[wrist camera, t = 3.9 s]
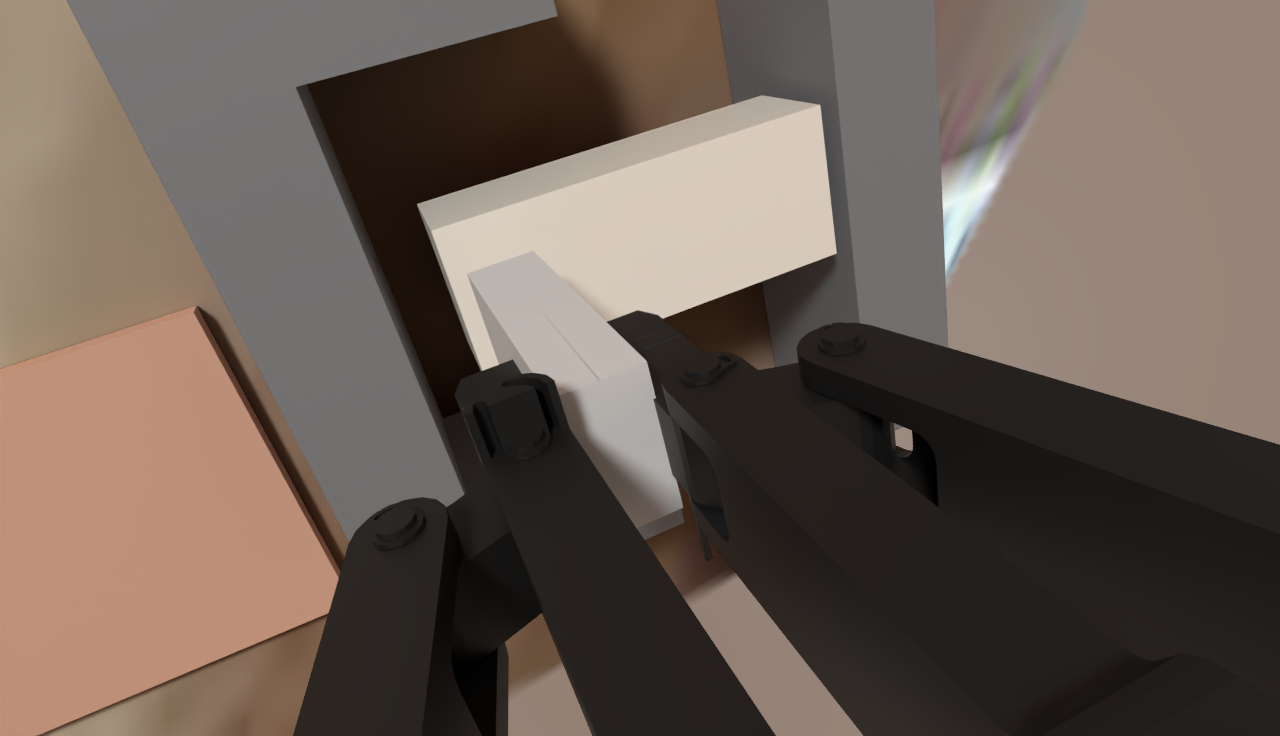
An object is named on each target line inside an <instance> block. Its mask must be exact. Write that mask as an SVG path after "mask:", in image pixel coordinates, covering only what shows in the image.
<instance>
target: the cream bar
mask: <svg viewBox="0 0 1280 736" xmlns="http://www.w3.org/2000/svg"><path fill="white" fill-rule="evenodd" d="M417 206H418V209H419V212H420V214H421V217H422V220H423V222H424V225H425V228H426V231H427V233H428V236H429V239H430V241H431V244H432V247H433V250H434V252H435V255H436V258H437V260H438V263H439V266H440V268H441V271H442V274H443V277H444V279H445V282H446V285H447V287H448V290H449V293H450V295H451V298H452V301H453V304H454V306H455V309H456V312H457V314H458V317H459V320H460V323H461V325H462V328H463V331H464V333H465V336H466V339H467V341H468V344H469V346H470V348H471V350H472V352H473V354H474V357H475V359H476V361H477V363H478V365H479V367H480V370H481V371H483V370H486V369H489V368H491V367H494V366H497V365H499V363H498V360H497V358H496V355H495V352H494V349H493V346H492V343H491V341H490V338H489V335H488V332H487V329H486V326H485V324H484V321H483V318H482V315H481V312H480V310H479V307H478V304H477V301H476V298H475V295H474V293H473V290H472V287H471V284H470V281H469V278H468V276H467V273H470V272H473V271H475V270H478V269H481V268H484V267H487V266H490V265H493V264H496V263H499V262H502V261H504V260H507V259H510V258H513V257H516V256H519V255H522V254H525V253H528V252H531V251H534V252H535V253H536V254H537V255H538V256H539V257H540V258H541V259H542V260H543V261H544V262H545V263H546V264H547V265H548V266H549V267H550V268H552V269H553V270H554V271H555V272H556V273H557V274H558V275H559V276H560V277H561V278H562V279H563V280H564V281H565V282H566V283H567V284H568V285H569V286H570V287H571V288H572V289H573V290H574V291H575V292H576V293H577V294H578V295H579V296H580V297H581V298H582V299H583V300H584V301H585V302H586V303H588V304H589V305H590V306H591V307H592V308H593V309H594V310H595V311H596V312H597V313H598V314H599V315H600V316H601V317H602V318H603V319H604V320H605V321H606V322H608V321H610V320H613V319H615V318H618V317H621V316H623V315H626V314H629V313H631V312H634V311H637V310H639V311H643V312H647V313H652V314H656V315H659V316H660V317H661V318H662V319H663V318H665V317H668V316H671V315H673V314H676V313H679V312H681V311H684V310H687V309H690V308H692V307H695V306H698V305H700V304H703V303H706V302H708V301H711V300H714V299H716V298H719V297H722V296H724V295H727V294H730V293H732V292H735V291H738V290H740V289H743V288H746V287H748V286H751V285H754V284H756V283H759V282H762V281H764V280H767V279H770V278H772V277H775V276H778V275H780V274H783V273H786V272H788V271H791V270H794V269H796V268H799V267H802V266H805V265H807V264H810V263H813V262H815V261H818V260H821V259H823V258H826V257H829V256H831V255H834V254H837V252H836V243H835V234H834V225H833V216H832V207H831V197H830V188H829V179H828V170H827V161H826V152H825V143H824V134H823V125H822V116H821V107H820V105H819V104H812V103H806V102H800V101H794V100H788V99H782V98H775V97H769V96H763V95H761V96H758V97H755V98H752V99H749V100H745V101H742V102H739V103H736V104H733V105H730V106H726V107H723V108H720V109H717V110H714V111H711V112H707V113H704V114H701V115H698V116H695V117H691V118H688V119H685V120H682V121H679V122H676V123H672V124H669V125H666V126H663V127H660V128H657V129H653V130H650V131H647V132H644V133H641V134H637V135H634V136H631V137H628V138H625V139H622V140H618V141H615V142H612V143H609V144H606V145H603V146H599V147H596V148H593V149H590V150H587V151H584V152H580V153H577V154H574V155H571V156H568V157H564V158H561V159H558V160H555V161H552V162H549V163H545V164H542V165H539V166H536V167H533V168H530V169H526V170H523V171H520V172H517V173H514V174H510V175H507V176H504V177H501V178H498V179H495V180H491V181H488V182H485V183H482V184H479V185H476V186H472V187H469V188H466V189H463V190H460V191H456V192H453V193H450V194H447V195H444V196H441V197H437V198H434V199H431V200H428V201H425V202H422V203H418V204H417Z"/></svg>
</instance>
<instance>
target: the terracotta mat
mask: <svg viewBox="0 0 1280 736" xmlns="http://www.w3.org/2000/svg"><path fill="white" fill-rule="evenodd" d="M340 572H341V571H340V569H339V568H338V566H337V564H336V562H335V560H334V558H333V557H332V555H331V553H330V551H329V549H328V547H327V545H326V544H325V542H324V540H323V538H322V536H321V534H320V533H319V531H318V529H317V527H316V525H315V523H314V521H313V520H312V518H311V516H310V514H309V512H308V510H307V509H306V507H305V505H304V503H303V501H302V499H301V497H300V496H299V494H298V492H297V490H296V488H295V486H294V485H293V483H292V481H291V479H290V477H289V475H288V473H287V472H286V470H285V468H284V466H283V464H282V462H281V461H280V459H279V457H278V455H277V453H276V451H275V449H274V448H273V446H272V444H271V442H270V440H269V438H268V437H267V435H266V433H265V431H264V429H263V427H262V425H261V424H260V422H259V420H258V418H257V416H256V414H255V413H254V411H253V409H252V407H251V405H250V403H249V401H248V400H247V398H246V396H245V394H244V392H243V390H242V389H241V387H240V385H239V383H238V381H237V379H236V377H235V376H234V374H233V372H232V370H231V368H230V366H229V365H228V363H227V361H226V359H225V357H224V355H223V353H222V352H221V350H220V348H219V346H218V344H217V342H216V340H215V339H214V337H213V335H212V333H211V331H210V329H209V328H208V326H207V324H206V322H205V320H204V318H203V316H202V315H201V313H200V311H199V309H198V307H197V306H194V307H191V308H188V309H185V310H182V311H179V312H175V313H172V314H169V315H166V316H163V317H160V318H157V319H154V320H151V321H148V322H144V323H141V324H138V325H135V326H132V327H129V328H126V329H123V330H120V331H117V332H113V333H110V334H107V335H104V336H101V337H98V338H95V339H92V340H89V341H86V342H83V343H79V344H76V345H73V346H70V347H67V348H64V349H61V350H58V351H55V352H52V353H48V354H45V355H42V356H39V357H36V358H33V359H30V360H27V361H24V362H21V363H18V364H14V365H11V366H8V367H5V368H2V369H0V736H37V735H40V734H42V733H45V732H47V731H49V730H52V729H54V728H56V727H59V726H61V725H64V724H66V723H68V722H71V721H73V720H75V719H78V718H80V717H83V716H85V715H87V714H90V713H92V712H94V711H97V710H99V709H102V708H104V707H106V706H109V705H111V704H113V703H116V702H118V701H121V700H123V699H125V698H128V697H130V696H132V695H135V694H137V693H140V692H142V691H144V690H147V689H149V688H151V687H154V686H156V685H159V684H161V683H163V682H166V681H168V680H170V679H173V678H175V677H178V676H180V675H182V674H185V673H187V672H189V671H192V670H194V669H197V668H199V667H201V666H204V665H206V664H209V663H211V662H213V661H216V660H218V659H220V658H223V657H225V656H228V655H230V654H232V653H235V652H237V651H239V650H242V649H244V648H247V647H249V646H251V645H254V644H256V643H258V642H261V641H263V640H266V639H268V638H270V637H273V636H275V635H277V634H280V633H282V632H285V631H287V630H289V629H292V628H294V627H296V626H299V625H301V624H304V623H306V622H308V621H311V620H313V619H315V618H318V617H320V616H323V615H325V614H327V613H329V610H330V607H331V603H332V600H333V596H334V593H335V589H336V586H337V582H338V579H339V575H340Z"/></svg>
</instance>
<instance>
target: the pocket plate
mask: <svg viewBox="0 0 1280 736" xmlns="http://www.w3.org/2000/svg"><path fill="white" fill-rule="evenodd" d="M67 2H68V4H69V6H70V8H71V10H72V12H73V14H74V16H75V18H76V20H77V21H78V23H79V25H80V27H81V29H82V31H83V33H84V35H85V37H86V39H87V41H88V43H89V44H90V46H91V48H92V50H93V52H94V54H95V56H96V58H97V60H98V62H99V64H100V66H101V67H102V69H103V71H104V73H105V75H106V77H107V79H108V81H109V83H110V85H111V87H112V89H113V90H114V92H115V94H116V96H117V98H118V100H119V102H120V104H121V106H122V108H123V110H124V112H125V113H126V115H127V117H128V119H129V121H130V123H131V125H132V127H133V129H134V131H135V133H136V135H137V136H138V138H139V140H140V142H141V144H142V146H143V148H144V150H145V152H146V154H147V156H148V158H149V159H150V161H151V163H152V165H153V167H154V169H155V171H156V173H157V175H158V177H159V179H160V180H161V182H162V184H163V186H164V188H165V190H166V192H167V194H168V196H169V198H170V200H171V202H172V203H173V205H174V207H175V209H176V211H177V213H178V215H179V217H180V219H181V221H182V223H183V225H184V226H185V228H186V230H187V232H188V234H189V236H190V238H191V240H192V242H193V244H194V246H195V248H196V249H197V251H198V253H199V255H200V257H201V259H202V261H203V263H204V265H205V267H206V269H207V271H208V272H209V274H210V276H211V278H212V280H213V282H214V284H215V286H216V288H217V290H218V292H219V294H220V295H221V297H222V299H223V301H224V303H225V305H226V307H227V309H228V311H229V313H230V315H231V317H232V318H233V320H234V322H235V324H236V326H237V328H238V330H239V332H240V334H241V336H242V338H243V340H244V341H245V343H246V345H247V347H248V349H249V351H250V353H251V355H252V357H253V359H254V361H255V363H256V364H257V366H258V368H259V370H260V372H261V374H262V376H263V378H264V380H265V382H266V384H267V385H268V387H269V389H270V391H271V393H272V395H273V397H274V399H275V401H276V403H277V405H278V407H279V408H280V410H281V412H282V414H283V416H284V418H285V420H286V422H287V424H288V426H289V428H290V430H291V431H292V433H293V435H294V437H295V439H296V441H297V443H298V445H299V447H300V449H301V451H302V453H303V454H304V456H305V458H306V460H307V462H308V464H309V466H310V468H311V470H312V472H313V474H314V476H315V477H316V479H317V481H318V483H319V485H320V487H321V489H322V491H323V493H324V495H325V497H326V499H327V500H328V502H329V504H330V506H331V508H332V510H333V512H334V514H335V516H336V518H337V520H338V522H339V523H340V525H341V527H342V529H343V531H344V533H345V535H346V537H347V539H348V541H349V542H350V540H351V539H352V537H353V535H354V533H355V531H356V530H357V529H358V528H359V527H360V526H361V525H362V524H363V523H364V522H365V521H366V520H367V519H368V518H369V517H371V516H372V515H373V514H375V513H376V512H378V511H381V509H383V508H385V507H387V506H389V505H391V504H395V503H398V502H400V501H403V500H407V499H413V498H420V497H425V498H432V499H437V500H438V501H440V502H441V503H442V504H444V505H445V506H446V507H447V506H449V505H451V504H452V503H454V502H455V501H456V500H458V499H459V498H460V497H462V496H463V495H464V494H466V493H467V492H468V491H469V489H470V488H471V487H472V486H473V485H474V484H475V483H476V481H477V479H478V478H479V476H480V474H481V470H482V463H481V461H480V458H479V456H478V453H477V451H476V448H475V446H474V443H473V440H472V438H471V435H470V433H469V430H468V428H467V425H466V423H465V420H464V418H463V415H462V412H459V413H456V414H454V415H451V416H448V417H446V418H443V417H442V414H441V412H440V409H439V407H438V404H437V402H436V399H435V397H434V395H433V392H432V390H431V387H430V385H429V382H428V380H427V377H426V375H425V372H424V370H423V368H422V365H421V363H420V360H419V358H418V355H417V353H416V350H415V348H414V345H413V343H412V341H411V338H410V336H409V333H408V331H407V328H406V326H405V323H404V321H403V318H402V316H401V314H400V311H399V309H398V306H397V304H396V301H395V299H394V296H393V294H392V291H391V289H390V287H389V284H388V282H387V279H386V277H385V274H384V272H383V269H382V267H381V264H380V262H379V260H378V257H377V255H376V252H375V250H374V247H373V245H372V242H371V240H370V237H369V235H368V233H367V230H366V228H365V225H364V223H363V220H362V218H361V215H360V213H359V210H358V208H357V205H356V203H355V201H354V198H353V196H352V193H351V191H350V188H349V186H348V183H347V181H346V178H345V176H344V174H343V171H342V169H341V166H340V164H339V161H338V159H337V156H336V154H335V151H334V149H333V147H332V144H331V142H330V139H329V137H328V134H327V132H326V129H325V127H324V124H323V122H322V120H321V117H320V115H319V112H318V110H317V107H316V105H315V102H314V100H313V97H312V95H311V93H310V90H309V88H308V85H307V84H309V83H313V82H316V81H320V80H324V79H327V78H331V77H335V76H338V75H342V74H346V73H350V72H353V71H357V70H361V69H364V68H368V67H372V66H375V65H379V64H383V63H386V62H390V61H394V60H397V59H401V58H405V57H408V56H412V55H416V54H420V53H423V52H427V51H431V50H434V49H438V48H442V47H445V46H449V45H453V44H456V43H460V42H464V41H467V40H471V39H475V38H478V37H482V36H486V35H490V34H493V33H497V32H501V31H504V30H508V29H512V28H515V27H519V26H523V25H526V24H530V23H534V22H537V21H541V20H545V19H548V18H552V17H556V16H558V15H557V11H556V7H555V3H554V0H67ZM717 6H718V12H719V19H720V25H721V31H722V37H723V43H724V50H725V56H726V62H727V68H728V75H729V81H730V87H731V93H732V99H733V104H736V103H739V102H742V101H745V100H749V99H752V98H755V97H758V96H761V95H763V96H769V97H775V98H782V99H788V100H794V101H800V102H806V103H812V104H819V105H820V107H821V116H822V125H823V134H824V143H825V152H826V161H827V170H828V179H829V188H830V197H831V207H832V216H833V225H834V234H835V243H836V252H837V254H834V255H831V256H829V257H826V258H823V259H821V260H818V261H815V262H813V263H810V264H807V265H805V266H802V267H799V268H796V269H794V270H791V271H788V272H786V273H783V274H780V275H778V276H775V277H772V278H770V279H767V280H764V281H762V286H763V292H764V299H765V305H766V311H767V317H768V323H769V330H770V336H771V342H772V348H773V355H774V361H775V367H779V366H784V365H789V364H793V363H798V356H797V349H796V348H797V346H798V343H799V340H800V339H802V338H803V337H804V336H805V335H806V334H807V333H809V332H811V331H813V330H816V329H818V328H820V327H822V326H824V325H828V324H830V325H832V323H837V322H843V323H861V324H867V325H872V326H876V327H879V328H882V329H886V330H889V331H893V332H896V333H900V334H903V335H906V336H910V337H913V338H917V339H920V340H923V341H927V342H930V343H934V344H937V345H941V346H944V347H947V348H948V335H947V309H946V283H945V258H944V233H943V208H942V183H941V157H940V132H939V107H938V82H937V57H936V31H935V6H934V0H717ZM901 427H902V426H900V425H897V424H895V423H894V430H897V429H899V428H901ZM683 523H685V521H684V517H683V513H682V509H679V510H677V511H675V512H672V513H670V514H668V515H666V516H664V517H661V518H659V519H657V520H655V521H652V522H650V523H648V524H646V525H643V526H641V527H639V528H637V529H638V531H639V532H640V534H641V535H642V537H643V538H644V540H646V539H648V538H651V537H653V536H655V535H658V534H660V533H662V532H664V531H667V530H669V529H671V528H673V527H676V526H678V525H680V524H683Z"/></svg>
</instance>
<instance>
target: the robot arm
mask: <svg viewBox="0 0 1280 736" xmlns="http://www.w3.org/2000/svg"><path fill="white" fill-rule="evenodd" d="M467 276H468V278H469V281H470V284H471V287H472V290H473V293H474V295H475V298H476V301H477V304H478V307H479V310H480V312H481V315H482V318H483V321H484V324H485V326H486V329H487V332H488V335H489V338H490V341H491V343H492V346H493V349H494V352H495V355H496V358H497V360H498V363H499V365H497V366H494V367H491V368H489V369H486V370H483V371H481V372H478V373H475V374H473V375H470V376H467V377H465V378H462V379H461V380H460V382H459V385H458V387H457V390H456V392H455V397H456V400H457V402H458V405H459V407H460V410H461V412H462V415H463V418H464V420H465V423H466V425H467V428H468V430H469V433H470V435H471V438H472V440H473V443H474V446H475V448H476V451H477V453H478V456H479V458H480V461H481V463H482V470H481V474H480V476H479V478H478V479H477V481H476V483H475V484H474V485H473V486H472V487H471V488H470V489H469V491H468V492H467V493H466V494H464V495H463V496H462V497H460V498H459V499H458V500H456V501H455V502H454V503H452V504H451V505H449V506H447V507H446V506H445V505H444V504H442V503H441V502H440V501H438V500H437V499H432V498H425V497H420V498H413V499H407V500H403V501H400V502H398V503H395V504H391V505H389V506H387V507H385V508H383V509H381V511H378V512H376V513H375V514H373V515H372V516H371V517H369V518H368V519H367V520H366V521H365V522H364V523H363V524H362V525H361V526H360V527H359V528H358V529H357V530H356V531H355V533H354V535H353V537H352V539H351V540H350V542H349V544H348V548H347V551H346V555H345V558H344V562H343V565H342V569H341V572H340V575H339V579H338V582H337V586H336V589H335V593H334V596H333V600H332V603H331V607H330V610H329V613H328V617H327V620H326V624H325V627H324V631H323V634H322V638H321V641H320V645H319V648H318V651H317V655H316V658H315V662H314V665H313V669H312V672H311V676H310V679H309V682H308V686H307V689H306V693H305V696H304V700H303V703H302V707H301V710H300V714H299V717H298V720H297V724H296V727H295V731H294V734H293V736H508V658H509V656H508V652H507V648H506V645H505V641H507V640H508V639H509V638H510V637H512V636H513V635H514V634H515V633H517V632H518V631H519V630H521V629H522V628H523V627H524V626H526V625H527V624H528V623H529V622H531V621H532V620H533V619H534V618H536V617H537V616H538V615H540V614H541V613H542V614H543V617H544V619H545V622H546V624H547V626H548V629H549V631H550V634H551V636H552V639H553V641H554V643H555V646H556V648H557V651H558V653H559V656H560V658H561V660H562V663H563V665H564V668H565V670H566V673H567V675H568V678H569V680H570V682H571V684H572V687H573V690H574V692H575V695H576V697H577V699H578V702H579V704H580V707H581V709H582V711H583V714H584V716H585V719H586V721H587V724H588V726H589V729H590V731H591V733H592V736H776V735H775V734H774V732H773V731H772V729H771V728H770V727H769V725H768V723H767V722H766V720H765V719H764V717H763V716H762V715H761V713H760V712H759V710H758V709H757V707H756V706H755V704H754V703H753V701H752V700H751V698H750V697H749V695H748V694H747V692H746V691H745V689H744V688H743V686H742V685H741V683H740V682H739V680H738V679H737V677H736V676H735V674H734V673H733V671H732V670H731V668H730V667H729V665H728V664H727V662H726V661H725V659H724V658H723V656H722V655H721V653H720V652H719V650H718V649H717V647H716V646H715V644H714V643H713V641H712V640H711V638H710V637H709V636H708V634H707V632H706V631H705V630H704V628H703V627H702V625H701V624H700V622H699V621H698V619H697V618H696V616H695V615H694V613H693V612H692V610H691V609H690V607H689V606H688V604H687V603H686V601H685V600H684V598H683V597H682V595H681V594H680V592H679V591H678V589H677V588H676V586H675V585H674V583H673V582H672V580H671V579H670V577H669V576H668V574H667V573H666V571H665V570H664V568H663V567H662V565H661V564H660V562H659V561H658V559H657V558H656V556H655V555H654V553H653V552H652V550H651V549H650V547H649V546H648V544H647V543H646V541H645V540H644V538H643V537H642V535H641V534H640V532H639V531H638V529H637V528H639V527H641V526H643V525H646V524H648V523H650V522H652V521H655V520H657V519H659V518H661V517H664V516H666V515H668V514H670V513H672V512H675V511H677V510H679V509H681V508H683V504H682V500H681V496H680V492H679V488H678V484H677V481H678V482H679V484H680V485H681V486H682V487H683V488H684V490H685V491H686V492H687V493H688V495H689V498H690V502H691V506H692V510H693V514H694V519H695V523H696V527H697V531H698V535H699V539H700V543H701V547H702V551H703V554H704V557H705V559H706V561H708V560H710V559H712V554H711V549H710V545H711V542H712V543H713V545H714V546H715V547H716V549H717V550H718V551H719V552H720V554H721V555H722V556H723V557H724V559H725V560H726V561H727V563H728V564H729V565H730V566H731V568H732V569H733V570H734V571H735V573H736V574H737V575H738V577H739V578H740V579H741V580H742V581H743V583H744V584H745V585H746V587H747V588H748V589H749V590H750V592H751V593H752V594H753V596H754V597H755V598H756V599H757V600H758V602H759V603H760V604H761V606H762V607H763V608H764V610H765V611H766V612H767V613H768V615H769V616H770V617H771V618H772V620H773V621H774V622H775V623H776V625H777V626H778V627H779V629H780V630H781V631H782V633H783V634H784V635H785V636H786V638H787V639H788V640H789V641H790V643H791V644H792V645H793V646H794V648H795V649H796V650H797V652H798V653H799V654H800V655H801V657H802V658H803V659H804V660H805V662H806V663H807V664H808V666H809V667H810V668H811V669H812V671H813V672H814V673H815V674H816V676H817V677H818V678H819V680H820V681H821V682H822V683H823V685H824V686H825V687H826V688H827V690H828V691H829V692H830V694H831V695H832V696H833V697H834V699H835V700H836V701H837V702H838V704H839V705H840V706H841V708H842V709H843V710H844V711H845V713H846V714H847V715H848V716H849V718H850V719H851V720H852V722H853V723H854V724H855V725H856V727H857V728H858V729H859V730H860V732H861V733H862V734H863V736H1280V445H1279V444H1275V443H1272V442H1268V441H1265V440H1261V439H1258V438H1255V437H1251V436H1248V435H1244V434H1241V433H1238V432H1234V431H1231V430H1227V429H1224V428H1221V427H1217V426H1214V425H1210V424H1207V423H1203V422H1200V421H1197V420H1193V419H1190V418H1186V417H1183V416H1179V415H1176V414H1173V413H1169V412H1166V411H1162V410H1159V409H1156V408H1152V407H1149V406H1145V405H1142V404H1139V403H1135V402H1132V401H1128V400H1125V399H1121V398H1118V397H1115V396H1111V395H1108V394H1104V393H1101V392H1097V391H1094V390H1090V389H1087V388H1084V387H1080V386H1077V385H1074V384H1070V383H1066V382H1063V381H1060V380H1057V379H1053V378H1050V377H1046V376H1043V375H1039V374H1036V373H1033V372H1029V371H1026V370H1022V369H1019V368H1016V367H1012V366H1009V365H1005V364H1002V363H999V362H995V361H992V360H988V359H985V358H981V357H978V356H975V355H971V354H968V353H964V352H961V351H958V350H954V349H951V348H947V347H944V346H941V345H937V344H934V343H930V342H927V341H923V340H920V339H917V338H913V337H910V336H906V335H903V334H900V333H896V332H893V331H889V330H886V329H882V328H879V327H876V326H872V325H867V324H861V323H843V322H837V323H832V325H830V324H828V325H824V326H822V327H820V328H818V329H816V330H813V331H811V332H809V333H807V334H806V335H805V336H804V337H803V338H802V339H800V340H799V343H798V346H797V348H796V349H797V356H798V363H793V364H789V365H784V366H779V367H774V368H769V369H763V370H757V369H756V368H754V367H753V366H752V365H750V364H749V363H748V362H746V361H745V360H744V359H742V358H741V357H738V356H736V355H734V354H732V353H724V352H709V353H704V352H703V351H702V350H700V349H699V348H698V347H697V346H696V345H694V344H693V343H692V342H691V341H689V340H688V339H687V338H686V337H684V336H683V335H680V333H679V332H678V331H677V330H676V329H675V328H673V327H670V324H668V323H667V322H666V321H665V320H663V319H662V318H661V317H660V316H659V315H656V314H652V313H647V312H643V311H639V310H637V311H634V312H631V313H629V314H626V315H623V316H621V317H618V318H615V319H613V320H610V321H608V322H606V321H605V320H604V319H603V318H602V317H601V316H600V315H599V314H598V313H597V312H596V311H595V310H594V309H593V308H592V307H591V306H590V305H589V304H588V303H586V302H585V301H584V300H583V299H582V298H581V297H580V296H579V295H578V294H577V293H576V292H575V291H574V290H573V289H572V288H571V287H570V286H569V285H568V284H567V283H566V282H565V281H564V280H563V279H562V278H561V277H560V276H559V275H558V274H557V273H556V272H555V271H554V270H553V269H552V268H550V267H549V266H548V265H547V264H546V263H545V262H544V261H543V260H542V259H541V258H540V257H539V256H538V255H537V254H536V253H535V252H534V251H531V252H528V253H525V254H522V255H519V256H516V257H513V258H510V259H507V260H504V261H502V262H499V263H496V264H493V265H490V266H487V267H484V268H481V269H478V270H475V271H473V272H470V273H467ZM894 423H895V424H897V425H900V426H902V427H905V428H907V429H910V430H912V435H913V451H909V450H905V449H903V448H901V447H898V446H896V444H895V432H894Z"/></svg>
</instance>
